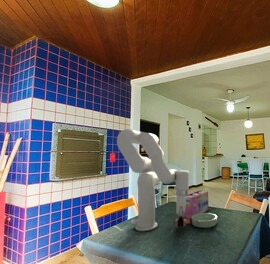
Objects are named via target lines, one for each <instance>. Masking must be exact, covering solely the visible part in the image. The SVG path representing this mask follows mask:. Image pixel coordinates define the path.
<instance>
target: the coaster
mask: <svg viewBox="0 0 270 264" xmlns="http://www.w3.org/2000/svg"><path fill="white" fill-rule="evenodd" d="M184 219H186V225H190V224H191V219H190V218H185V217H184Z"/></svg>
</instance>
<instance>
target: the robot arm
mask: <svg viewBox="0 0 270 264" xmlns="http://www.w3.org/2000/svg"><path fill="white" fill-rule="evenodd" d="M134 144H136V145H140V146H141V147H142V148H143V150H144V151H145V153H146V154H147V156H148V157H147V156H143V155H141V154H140V152H139V151H138V149H137V148H136V147H135V146H134ZM116 145H117V148H118V149H119V151H120V153H121V154H122V156H123V157H124V160H125V161H126V163H127V164H128V166H129V168H130V169H131V171H132V172H133V173H137V174H139V173H141V174H140V175H139V176H138V177H137V183H136V184H137V193H138V203H137V204H138V205H137V208H138V209H137V211H138V212H137V219H131V220H130V221H129V223H130V225H132V226H133V225H135V226H134V229H135V230H136V231H139V232H149V231H152V230H155V229H157V228H158V223H157V222H156V190H155V186H157V185H158V184H160V182H161V183H162V184H165V185H169V184H171V183H174V182H175V194H174V195H175V196H176V203H175V214H176V215H177V219H178V226H177V227H179V228H181V227H184V226H183V222H184V218H185V217H183V213H185V207H186V196H187V195H188V194H189V191H190V190H189V188H190V187H189V186H190V185H189V184H190V171H189V170H185V169H173V168H170V169H169V168H168V166H167V164H166V163H165V160H164V155H165V153H164V151H163V149H162V148H161V146H160V145H159V137H158V136H157V135H156V134H154V133H150V132H145V131H140V130H135V129H131V128H126V129H123V130H120V132H119V133H118V135H117V138H116Z"/></svg>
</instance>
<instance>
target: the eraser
mask: <svg viewBox="0 0 270 264" xmlns="http://www.w3.org/2000/svg"><path fill="white" fill-rule="evenodd" d="M174 227H178V218H175V220H174ZM183 227H187V224H186V219H184V222H183Z"/></svg>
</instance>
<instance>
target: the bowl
mask: <svg viewBox="0 0 270 264" xmlns="http://www.w3.org/2000/svg"><path fill="white" fill-rule="evenodd" d="M217 224H218V216H217V215H216V214H214V213H211V212H203V213H198V214H194V215H193V216H192V219H191V225H192V226H193V227H196V228H197V227H198V228H201V229H202V228H204V229H205V228H207V229H208V228H211V227H214V226H216V225H217Z"/></svg>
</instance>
